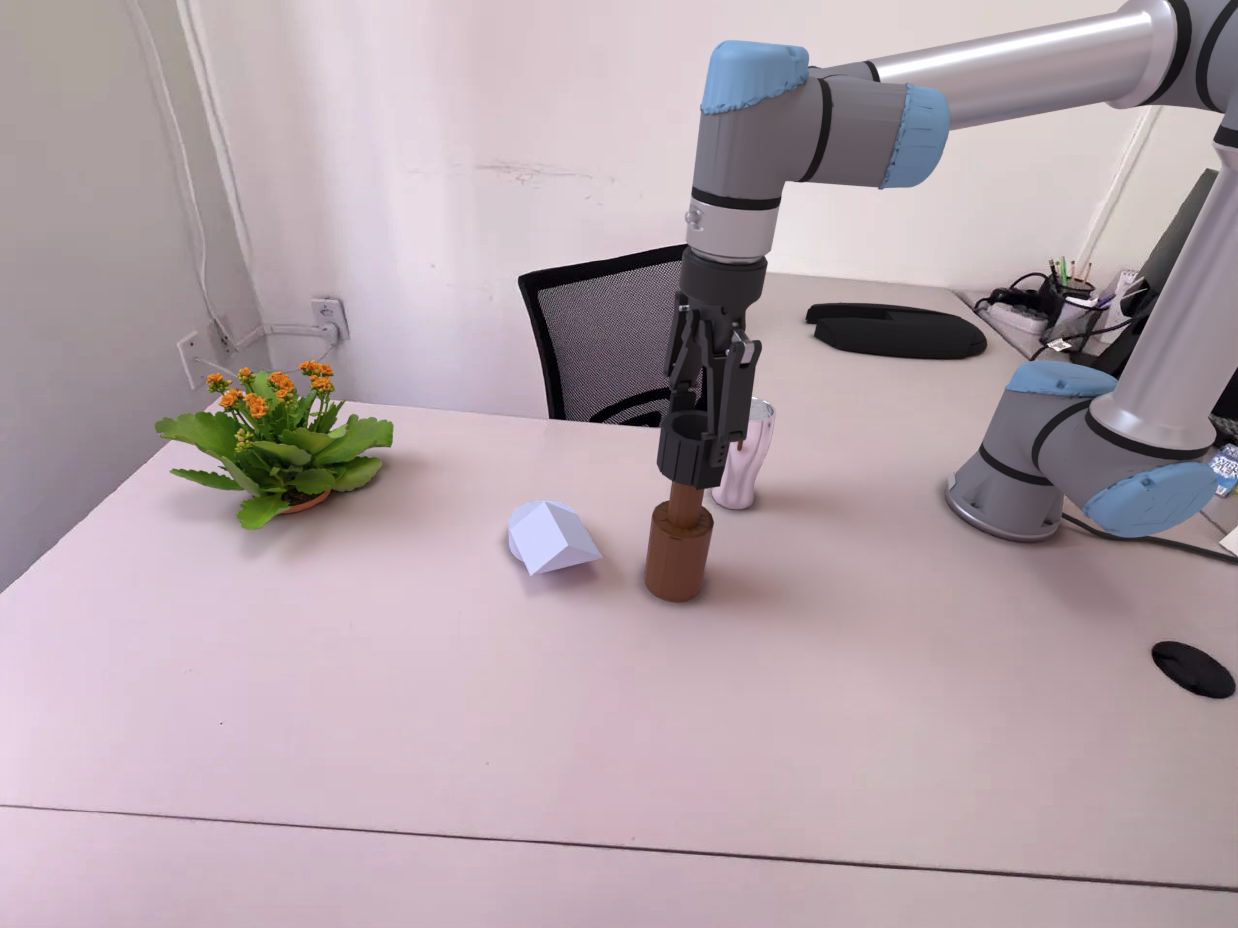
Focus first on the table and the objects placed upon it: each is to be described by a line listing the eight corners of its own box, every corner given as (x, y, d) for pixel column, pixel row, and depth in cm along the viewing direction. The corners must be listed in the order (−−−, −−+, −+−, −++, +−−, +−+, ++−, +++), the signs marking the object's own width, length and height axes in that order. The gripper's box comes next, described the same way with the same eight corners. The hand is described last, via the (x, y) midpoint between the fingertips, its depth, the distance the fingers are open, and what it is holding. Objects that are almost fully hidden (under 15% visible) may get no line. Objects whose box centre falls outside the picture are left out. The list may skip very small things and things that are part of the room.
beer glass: (755, 515, 92) (777, 425, 83) (706, 507, 93) (723, 416, 84) (757, 487, 97) (778, 399, 89) (710, 479, 98) (727, 391, 90)
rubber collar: (728, 457, 72) (737, 418, 70) (716, 493, 67) (725, 452, 64) (666, 442, 74) (671, 403, 71) (649, 476, 68) (654, 436, 65)
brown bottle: (706, 569, 82) (727, 465, 73) (694, 608, 76) (715, 501, 67) (653, 555, 84) (667, 451, 74) (637, 592, 78) (650, 485, 69)
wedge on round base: (601, 577, 80) (565, 514, 89) (604, 536, 76) (566, 474, 85) (530, 596, 76) (500, 528, 86) (530, 554, 72) (499, 487, 82)
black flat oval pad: (1006, 365, 141) (1016, 344, 138) (822, 352, 140) (827, 330, 137) (959, 321, 162) (966, 301, 159) (797, 309, 160) (802, 289, 158)
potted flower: (337, 566, 78) (307, 444, 68) (141, 549, 78) (83, 425, 68) (404, 452, 99) (389, 345, 89) (249, 438, 99) (217, 330, 89)
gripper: (645, 220, 64) (626, 420, 77) (742, 293, 48) (698, 529, 61) (714, 219, 66) (684, 414, 79) (827, 289, 51) (768, 517, 64)
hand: (690, 464), depth 70 cm, fingers closed on rubber collar, 7 cm apart
